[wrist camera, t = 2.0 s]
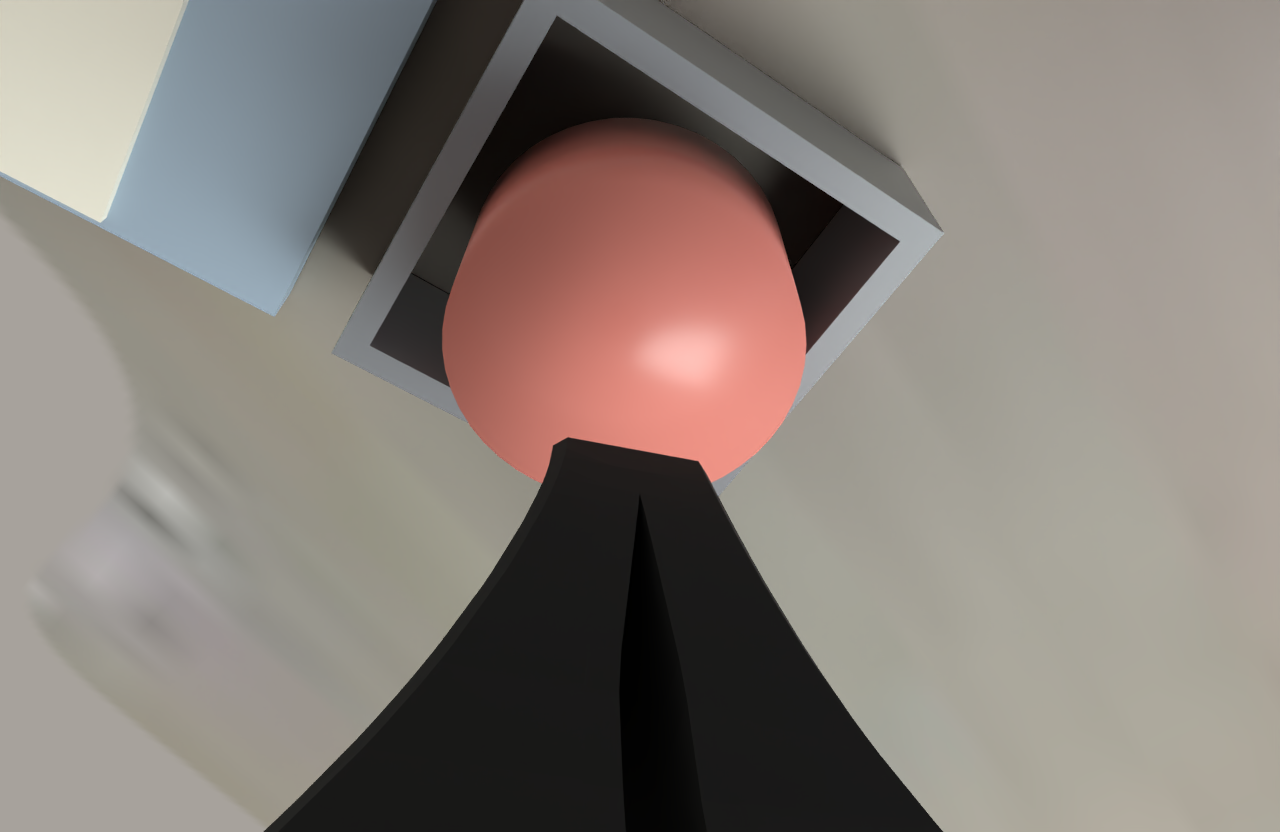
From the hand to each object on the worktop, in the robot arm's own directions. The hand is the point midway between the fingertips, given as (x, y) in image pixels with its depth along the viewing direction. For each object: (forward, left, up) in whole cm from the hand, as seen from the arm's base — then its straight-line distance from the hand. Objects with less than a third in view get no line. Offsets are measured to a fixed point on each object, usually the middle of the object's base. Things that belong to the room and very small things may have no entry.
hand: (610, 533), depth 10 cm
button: (0, 0, -6) cm, 6 cm away
